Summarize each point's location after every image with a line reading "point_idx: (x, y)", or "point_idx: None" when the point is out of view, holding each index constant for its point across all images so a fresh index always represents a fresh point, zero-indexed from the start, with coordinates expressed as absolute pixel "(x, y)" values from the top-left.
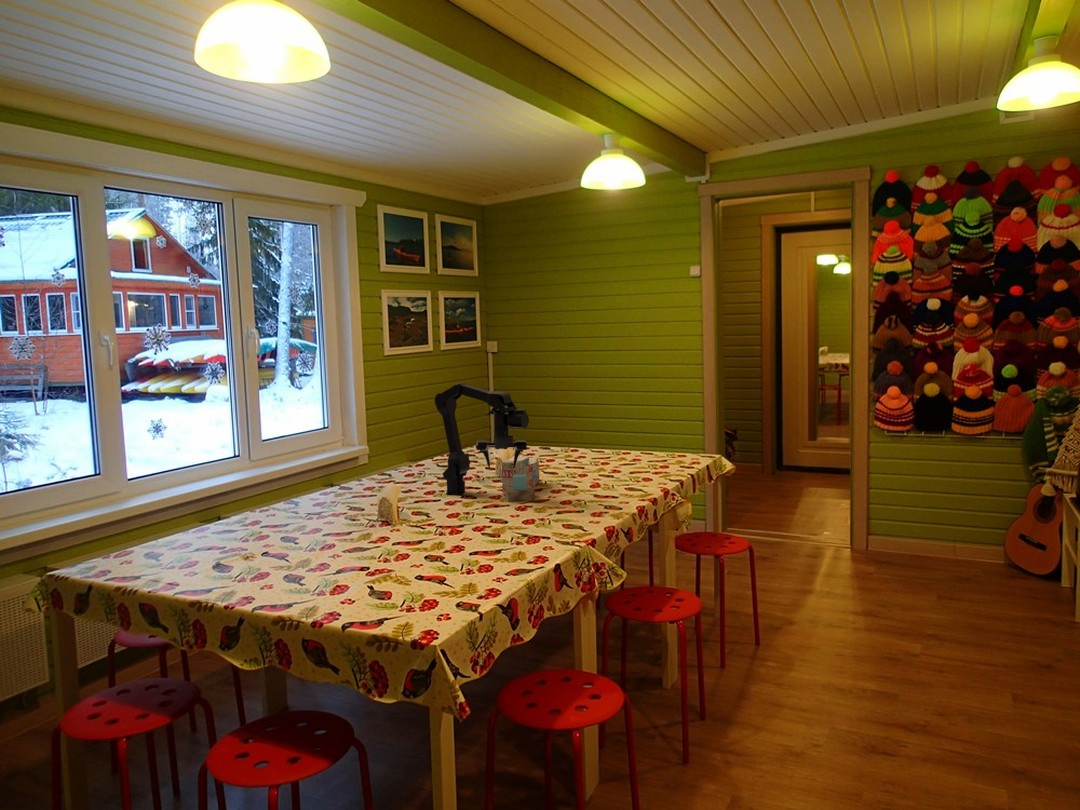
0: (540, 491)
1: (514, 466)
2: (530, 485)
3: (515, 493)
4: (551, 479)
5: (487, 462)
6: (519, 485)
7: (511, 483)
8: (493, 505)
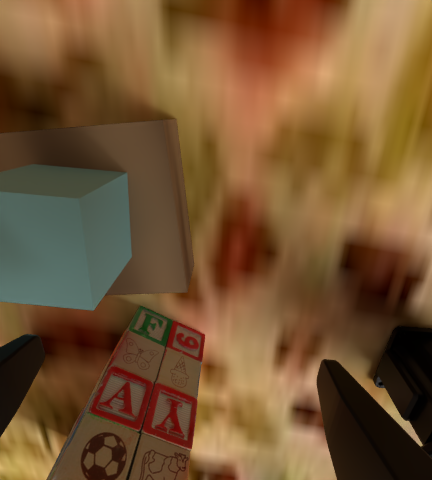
0: (35, 319)
1: (15, 342)
2: None
3: (109, 124)
4: (34, 463)
5: (394, 425)
6: (60, 174)
7: (150, 350)
8: (273, 23)
